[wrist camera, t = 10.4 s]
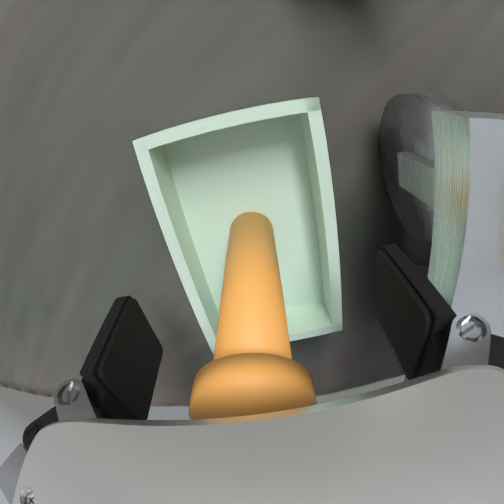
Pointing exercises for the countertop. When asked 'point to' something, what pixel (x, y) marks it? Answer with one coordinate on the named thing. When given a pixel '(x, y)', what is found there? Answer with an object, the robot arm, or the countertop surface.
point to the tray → (250, 205)
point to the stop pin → (251, 334)
